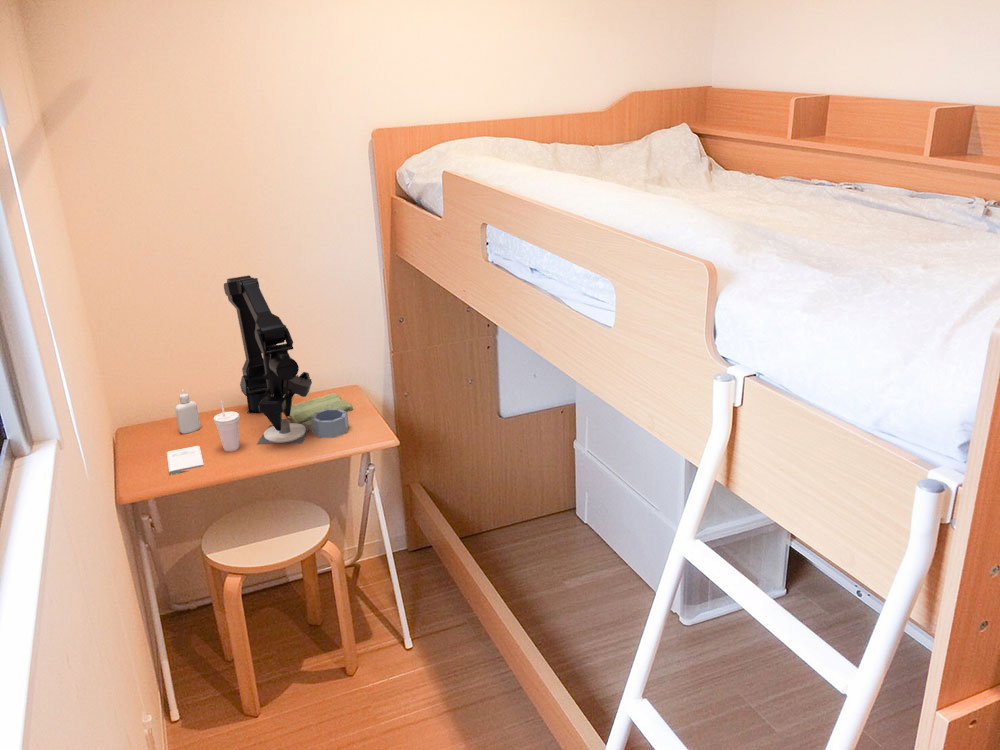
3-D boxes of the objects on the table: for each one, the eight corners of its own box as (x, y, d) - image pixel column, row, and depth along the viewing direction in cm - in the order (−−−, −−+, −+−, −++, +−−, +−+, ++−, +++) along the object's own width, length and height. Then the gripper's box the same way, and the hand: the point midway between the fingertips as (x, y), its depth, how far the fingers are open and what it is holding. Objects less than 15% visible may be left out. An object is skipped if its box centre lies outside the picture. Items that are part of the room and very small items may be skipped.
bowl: (310, 439, 214) (308, 422, 212) (318, 425, 223) (316, 408, 221) (344, 438, 214) (342, 421, 212) (350, 424, 222) (349, 408, 221)
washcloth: (280, 415, 231) (279, 404, 230) (337, 400, 241) (336, 390, 239) (297, 430, 221) (296, 419, 220) (356, 414, 230) (354, 403, 229)
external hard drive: (170, 477, 197) (167, 456, 208) (204, 470, 200) (200, 450, 211) (168, 471, 197) (166, 451, 207) (203, 464, 200) (199, 444, 210)
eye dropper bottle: (179, 428, 223) (172, 388, 219) (201, 425, 225) (194, 386, 220) (179, 434, 219) (171, 394, 215) (200, 431, 221) (193, 391, 216)
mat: (256, 446, 211) (256, 444, 211) (269, 427, 222) (269, 425, 222) (301, 445, 211) (301, 443, 211) (312, 426, 222) (312, 424, 222)
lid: (259, 443, 211) (257, 430, 210) (270, 425, 222) (268, 413, 220) (300, 442, 211) (298, 429, 210) (310, 425, 221) (308, 412, 220)
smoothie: (215, 449, 210) (206, 400, 205) (238, 442, 214) (230, 394, 209) (224, 457, 205) (216, 407, 200) (248, 450, 209) (240, 400, 204)
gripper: (297, 381, 201) (304, 437, 206) (314, 356, 218) (321, 408, 224) (253, 382, 201) (262, 438, 207) (274, 357, 219) (281, 409, 224)
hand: (283, 423), depth 215 cm, fingers open, 9 cm apart
